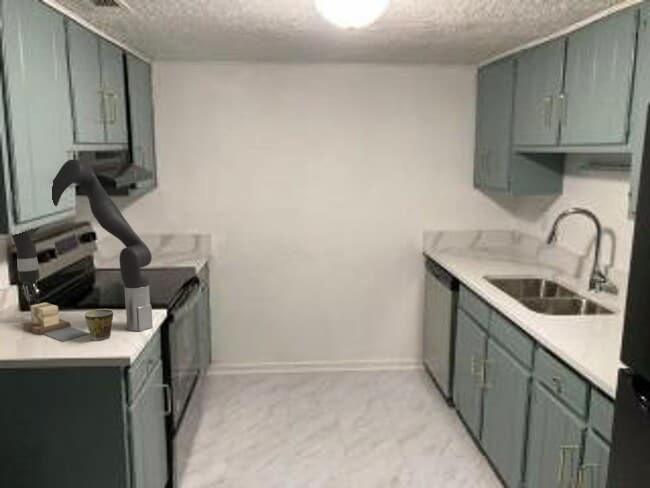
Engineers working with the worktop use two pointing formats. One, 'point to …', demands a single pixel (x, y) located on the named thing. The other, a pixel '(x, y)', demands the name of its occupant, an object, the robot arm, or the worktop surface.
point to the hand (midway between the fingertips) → (32, 309)
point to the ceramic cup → (99, 323)
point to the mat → (66, 334)
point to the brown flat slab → (47, 329)
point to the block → (44, 314)
